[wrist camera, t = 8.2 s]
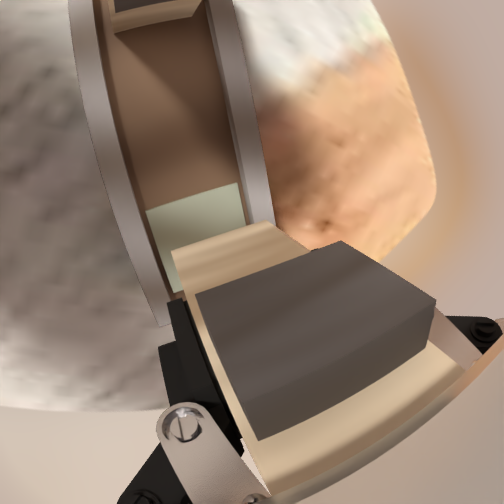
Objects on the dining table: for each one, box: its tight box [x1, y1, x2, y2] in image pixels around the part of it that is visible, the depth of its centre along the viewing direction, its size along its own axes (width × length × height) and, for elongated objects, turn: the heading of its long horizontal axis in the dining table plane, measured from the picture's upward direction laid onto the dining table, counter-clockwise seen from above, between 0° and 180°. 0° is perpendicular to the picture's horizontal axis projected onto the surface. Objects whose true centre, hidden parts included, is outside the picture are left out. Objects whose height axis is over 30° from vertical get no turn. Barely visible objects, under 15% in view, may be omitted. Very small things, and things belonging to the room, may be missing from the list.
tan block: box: [171, 220, 466, 496], centre depth 8 cm, size 5×4×10 cm
